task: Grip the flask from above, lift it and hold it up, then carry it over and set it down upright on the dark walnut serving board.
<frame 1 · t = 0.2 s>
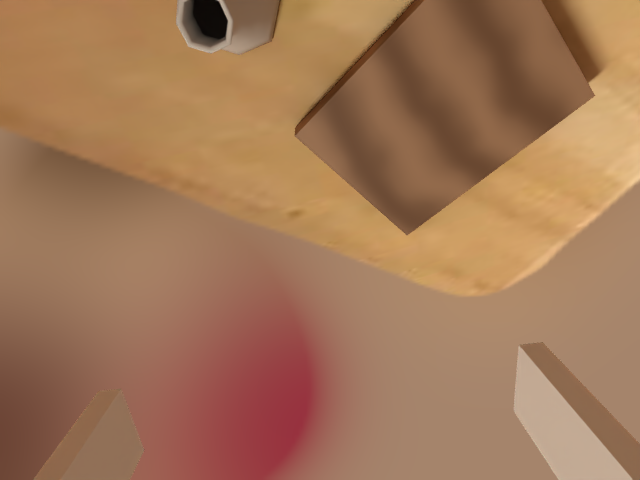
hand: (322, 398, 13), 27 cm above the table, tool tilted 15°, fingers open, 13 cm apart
flask: (232, 1, 29), on the table
walnut board: (435, 108, 34), on the table
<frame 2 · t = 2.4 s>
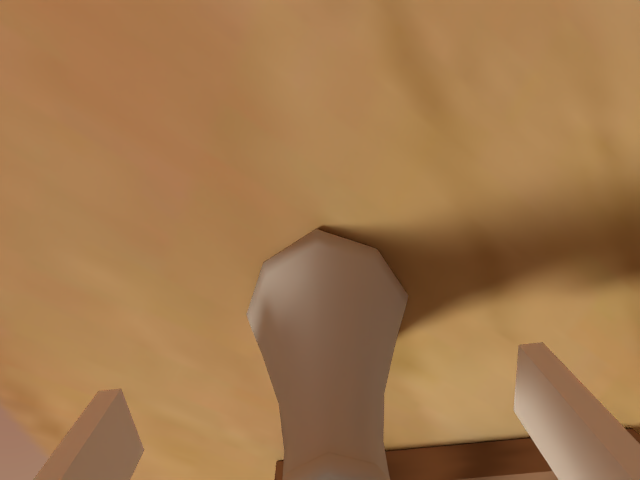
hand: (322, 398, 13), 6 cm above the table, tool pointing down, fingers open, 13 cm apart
flask: (326, 299, 18), on the table
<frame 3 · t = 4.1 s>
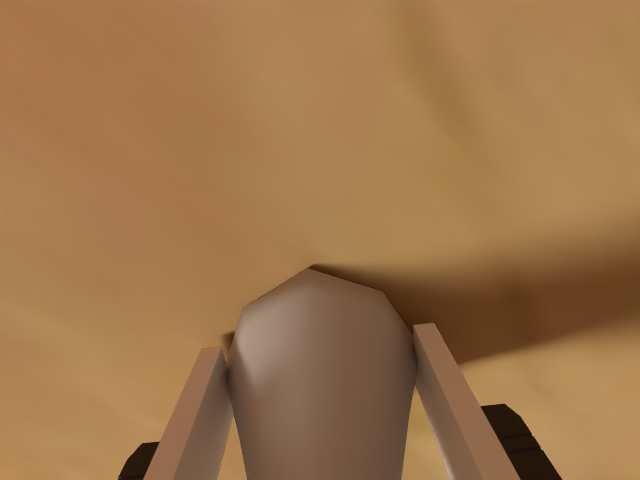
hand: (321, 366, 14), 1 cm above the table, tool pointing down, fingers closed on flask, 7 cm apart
flask: (320, 350, 15), on the table, touching gripper
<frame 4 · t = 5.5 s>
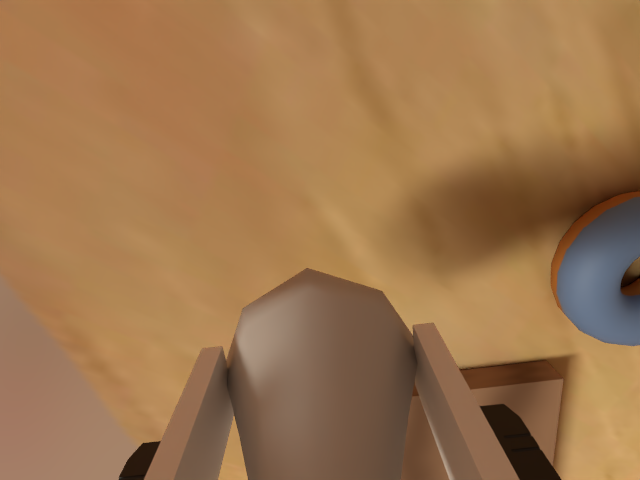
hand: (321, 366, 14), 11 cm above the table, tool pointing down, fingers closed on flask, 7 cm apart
doughnut: (611, 257, 25), on the table
flask: (320, 349, 15), point 10 cm above the table, touching gripper
walnut board: (413, 457, 30), on the table
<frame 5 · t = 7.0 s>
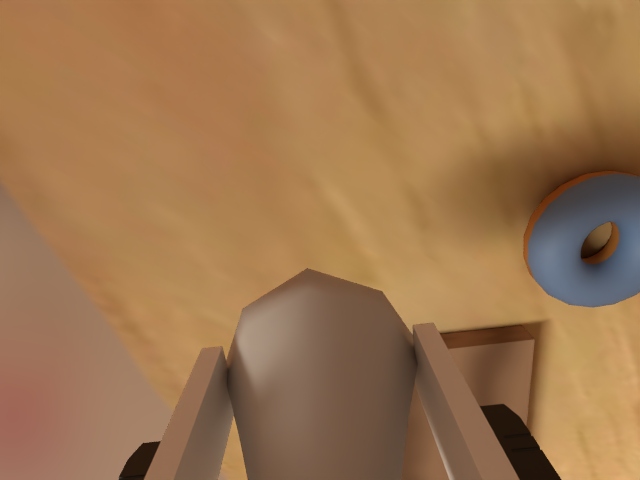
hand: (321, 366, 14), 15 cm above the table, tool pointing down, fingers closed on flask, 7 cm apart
doughnut: (577, 231, 29), on the table
flask: (320, 350, 15), point 14 cm above the table, touching gripper
walnut board: (405, 412, 34), on the table
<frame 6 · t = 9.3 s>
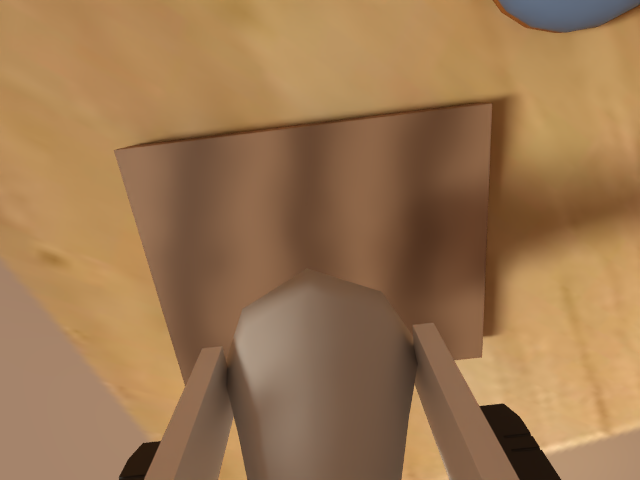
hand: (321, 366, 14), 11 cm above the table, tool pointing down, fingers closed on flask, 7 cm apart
flask: (320, 350, 15), point 10 cm above the table, touching gripper
walnut board: (318, 252, 24), on the table
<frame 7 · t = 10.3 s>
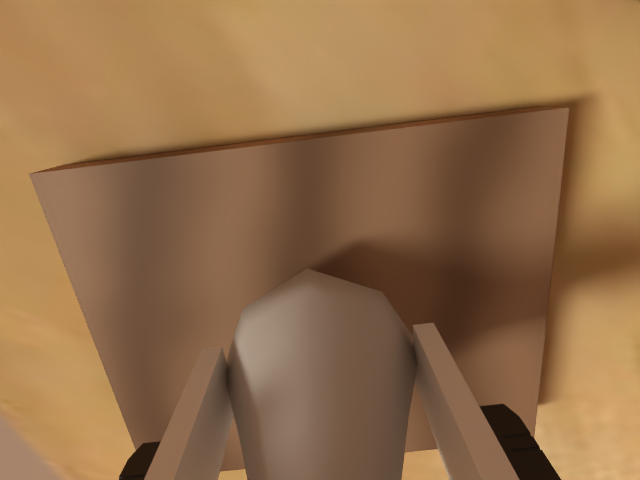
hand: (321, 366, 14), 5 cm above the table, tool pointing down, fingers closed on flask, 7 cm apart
flask: (320, 350, 15), point 4 cm above the table, touching gripper
walnut board: (319, 303, 19), on the table
when the fingers open (4 cm above the table, at t = 11.2 s): flask drops 1 cm, resting on walnut board.
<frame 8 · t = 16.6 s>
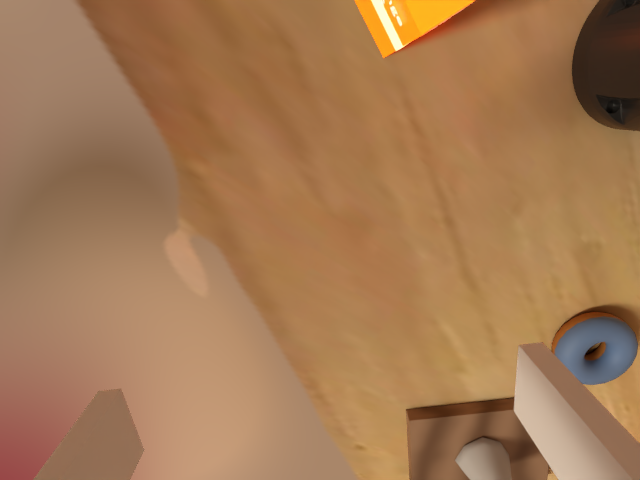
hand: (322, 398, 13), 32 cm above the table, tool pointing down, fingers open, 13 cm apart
doughnut: (582, 338, 51), on the table
flask: (480, 454, 54), point 2 cm above the table, touching walnut board
walnut board: (475, 444, 56), on the table
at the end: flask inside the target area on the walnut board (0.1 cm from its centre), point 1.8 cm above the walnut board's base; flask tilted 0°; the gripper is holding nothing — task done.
